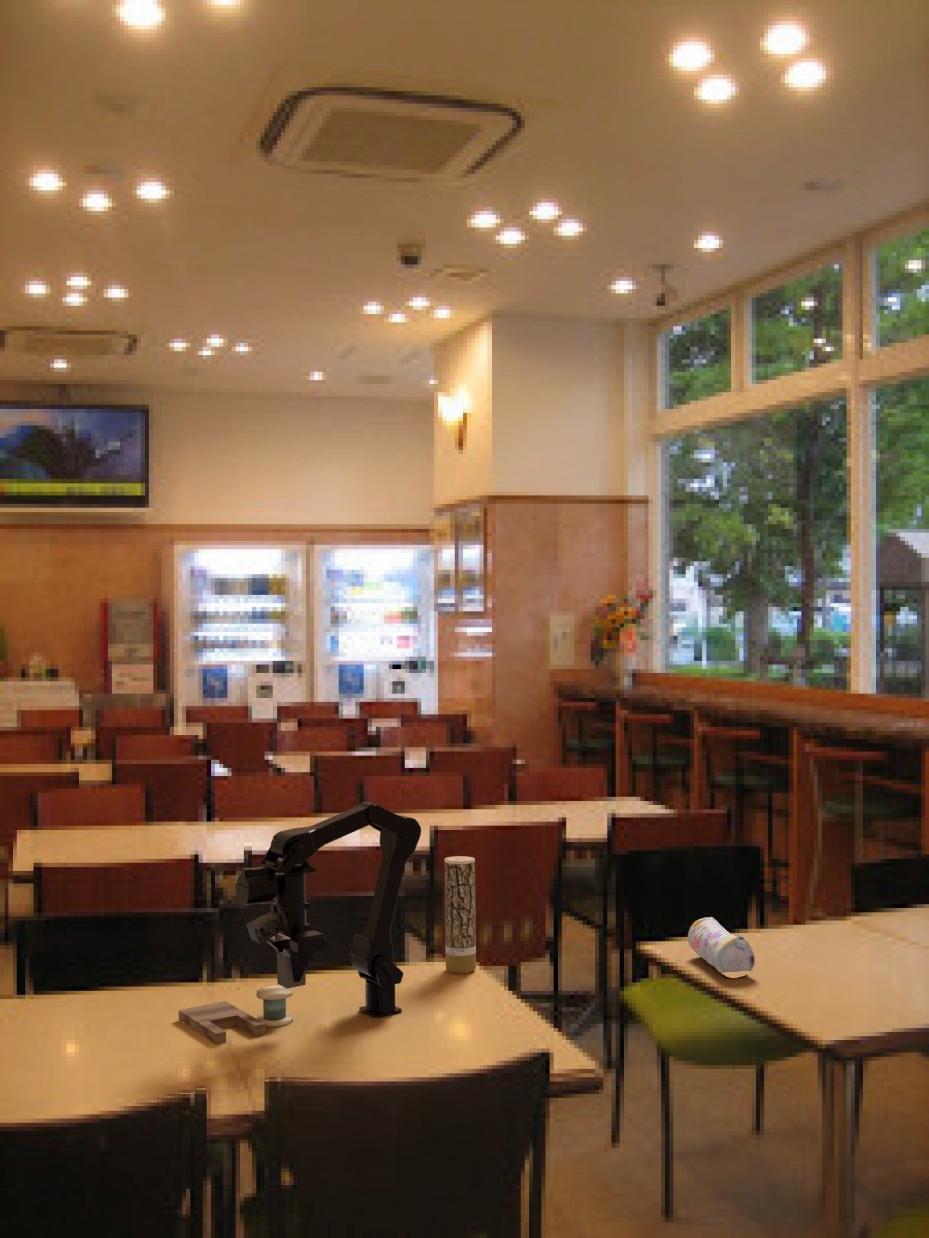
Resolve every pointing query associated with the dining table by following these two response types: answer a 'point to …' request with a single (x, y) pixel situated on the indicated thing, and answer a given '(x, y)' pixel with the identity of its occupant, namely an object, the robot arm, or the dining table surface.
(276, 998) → the bobbin
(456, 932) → the paper tube
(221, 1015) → the notch board
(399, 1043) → the dining table surface
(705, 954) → the pencil case
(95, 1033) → the dining table surface
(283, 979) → the tab block
